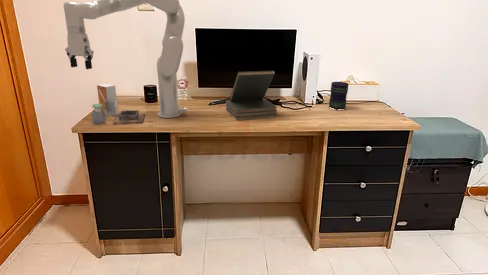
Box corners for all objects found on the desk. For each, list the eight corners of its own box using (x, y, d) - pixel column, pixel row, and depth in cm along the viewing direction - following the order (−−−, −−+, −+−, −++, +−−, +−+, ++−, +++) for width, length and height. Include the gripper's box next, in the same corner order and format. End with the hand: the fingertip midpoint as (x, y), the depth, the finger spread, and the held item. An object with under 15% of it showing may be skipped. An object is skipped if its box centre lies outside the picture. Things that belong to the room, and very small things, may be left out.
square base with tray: (144, 115, 184) (144, 108, 183) (142, 123, 172) (142, 116, 170) (117, 115, 182) (116, 109, 180) (113, 124, 169) (112, 117, 168)
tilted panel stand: (263, 108, 203) (265, 65, 194) (276, 118, 186) (279, 71, 177) (225, 110, 197) (226, 66, 188) (235, 121, 179) (236, 73, 170)
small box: (99, 107, 196) (96, 84, 191) (109, 105, 201) (106, 83, 196) (108, 110, 191) (105, 86, 187) (118, 107, 196) (115, 85, 192)
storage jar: (347, 110, 201) (350, 85, 196) (330, 110, 201) (333, 85, 196) (343, 106, 211) (346, 81, 205) (327, 105, 211) (329, 81, 205)
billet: (117, 113, 187) (116, 98, 184) (116, 115, 182) (114, 101, 179) (108, 113, 186) (106, 98, 183) (106, 116, 181) (104, 101, 178)
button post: (105, 120, 174) (104, 109, 172) (103, 123, 169) (102, 112, 167) (95, 121, 173) (93, 109, 171) (93, 124, 169) (91, 112, 166)
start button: (104, 117, 173) (102, 103, 170) (102, 119, 169) (101, 105, 166) (95, 117, 172) (93, 103, 170) (93, 120, 168) (91, 106, 166)
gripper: (96, 31, 159) (101, 68, 165) (69, 29, 165) (75, 65, 171) (83, 32, 152) (88, 70, 158) (56, 30, 159) (62, 67, 165)
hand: (81, 67), depth 165 cm, fingers open, 9 cm apart
